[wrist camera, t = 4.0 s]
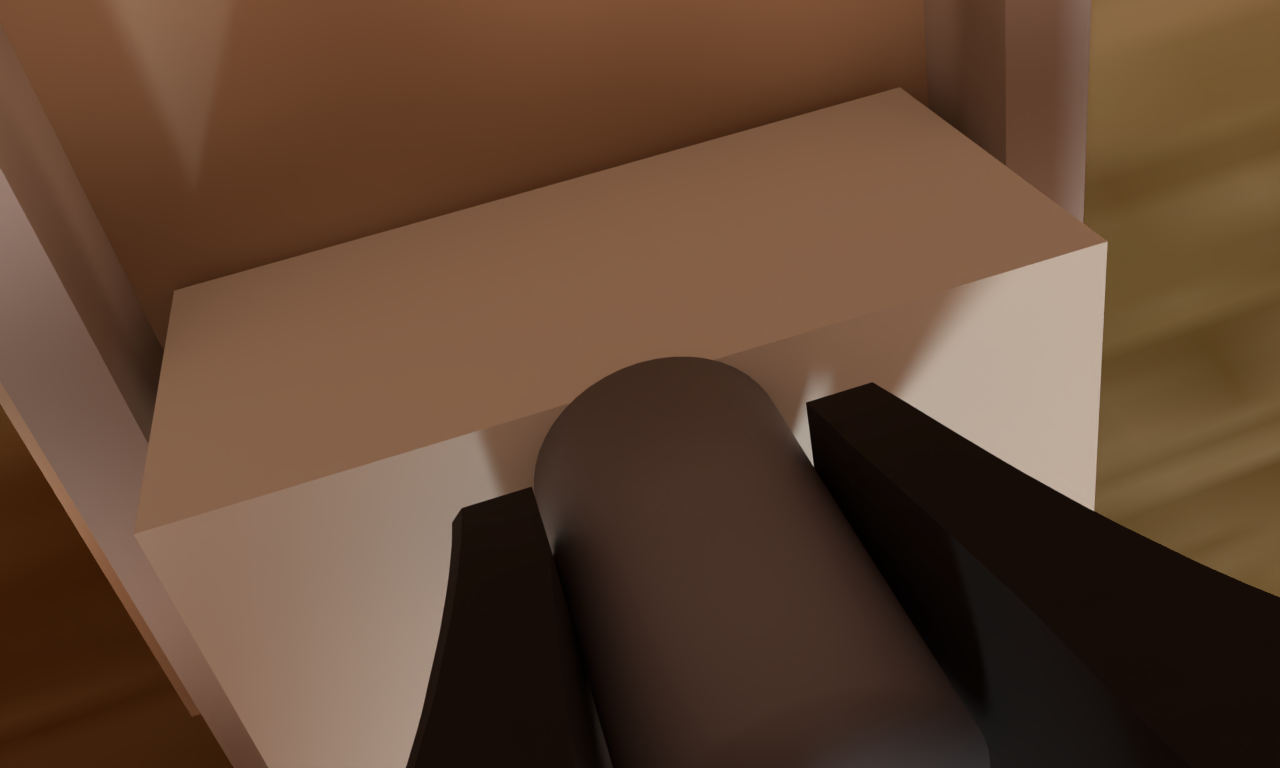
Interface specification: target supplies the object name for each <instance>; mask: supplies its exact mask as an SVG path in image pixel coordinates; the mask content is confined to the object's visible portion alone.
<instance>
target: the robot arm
mask: <svg viewBox="0 0 1280 768" xmlns="http://www.w3.org/2000/svg"><path fill="white" fill-rule="evenodd" d="M806 408H807V416H808V424H809V431H810V439H811V447H812V455H813V463H814V468H815V470H816V471H817V473H818V474H819V476H820V477H821V479H822V481H823V482H824V484H825V485H826V487H827V489H828V490H829V492H830V493H831V495H832V496H833V498H834V500H835V501H836V503H837V504H838V506H839V508H840V509H841V511H842V512H843V514H844V515H845V517H846V519H847V520H848V522H849V523H850V525H851V527H852V528H853V530H854V531H855V533H856V534H857V536H858V538H859V539H860V541H861V542H862V544H863V545H864V547H865V549H866V550H867V552H868V553H869V555H870V557H871V558H872V560H873V561H874V563H875V564H876V566H877V568H878V569H879V571H880V572H881V574H882V576H883V577H884V579H885V580H886V582H887V583H888V585H889V587H890V588H891V590H892V591H893V593H894V595H895V596H896V598H897V599H898V601H899V602H900V604H901V606H902V607H903V609H904V610H905V612H906V613H907V615H908V617H909V618H910V620H911V621H912V623H913V625H914V626H915V628H916V629H917V631H918V632H919V634H920V636H921V637H922V639H923V640H924V642H925V644H926V645H927V647H928V648H929V650H930V651H931V653H932V655H933V656H934V658H935V659H936V661H937V663H938V664H939V666H940V667H941V669H942V670H943V672H944V674H945V675H946V677H947V678H948V680H949V681H950V683H951V685H952V686H953V688H954V689H955V691H956V693H957V694H958V696H959V697H960V699H961V700H962V702H963V704H964V705H965V707H966V708H967V710H968V712H969V713H970V715H971V716H972V718H973V719H974V721H975V723H976V724H977V726H978V727H979V729H980V731H981V732H982V734H983V735H984V738H985V741H986V744H987V747H988V750H989V758H990V768H1280V597H1277V596H1275V595H1273V594H1270V593H1268V592H1265V591H1263V590H1260V589H1258V588H1255V587H1253V586H1250V585H1248V584H1245V583H1243V582H1241V581H1238V580H1236V579H1234V578H1232V577H1229V576H1227V575H1225V574H1223V573H1220V572H1218V571H1216V570H1214V569H1211V568H1209V567H1207V566H1205V565H1202V564H1200V563H1198V562H1196V561H1194V560H1192V559H1190V558H1187V557H1185V556H1183V555H1181V554H1179V553H1177V552H1175V551H1173V550H1171V549H1169V548H1167V547H1165V546H1163V545H1161V544H1159V543H1157V542H1154V541H1152V540H1150V539H1148V538H1146V537H1144V536H1142V535H1140V534H1138V533H1136V532H1134V531H1132V530H1130V529H1128V528H1126V527H1124V526H1121V525H1120V524H1118V523H1116V522H1114V521H1112V520H1110V519H1108V518H1106V517H1104V516H1102V515H1100V514H1098V513H1096V512H1095V511H1093V510H1091V509H1089V508H1087V507H1085V506H1083V505H1081V504H1080V503H1078V502H1076V501H1074V500H1072V499H1071V498H1069V497H1067V496H1065V495H1063V494H1061V493H1060V492H1058V491H1056V490H1054V489H1052V488H1051V487H1049V486H1047V485H1045V484H1043V483H1042V482H1040V481H1038V480H1036V479H1034V478H1033V477H1031V476H1029V475H1027V474H1025V473H1024V472H1022V471H1020V470H1018V469H1017V468H1015V467H1013V466H1012V465H1010V464H1008V463H1006V462H1005V461H1003V460H1001V459H1000V458H998V457H996V456H994V455H993V454H991V453H989V452H988V451H986V450H984V449H983V448H981V447H979V446H978V445H976V444H974V443H973V442H971V441H969V440H968V439H966V438H964V437H963V436H961V435H959V434H958V433H956V432H954V431H953V430H951V429H949V428H948V427H946V426H944V425H943V424H941V423H940V422H938V421H936V420H935V419H933V418H931V417H930V416H928V415H926V414H925V413H923V412H922V411H920V410H918V409H917V408H915V407H913V406H912V405H910V404H908V403H907V402H905V401H903V400H902V399H900V398H898V397H897V396H895V395H893V394H892V393H890V392H888V391H887V390H885V389H883V388H882V387H880V386H878V385H877V384H875V383H873V382H871V383H868V384H864V385H861V386H858V387H855V388H851V389H848V390H845V391H842V392H838V393H835V394H832V395H829V396H825V397H822V398H819V399H816V400H812V401H809V402H806ZM406 768H613V766H612V763H611V759H610V756H609V752H608V749H607V745H606V742H605V739H604V735H603V732H602V728H601V725H600V721H599V718H598V714H597V711H596V707H595V704H594V700H593V697H592V694H591V690H590V687H589V683H588V680H587V676H586V673H585V669H584V666H583V661H582V657H581V653H580V649H579V645H578V640H577V636H576V633H575V629H574V626H573V623H572V619H571V616H570V612H569V609H568V605H567V602H566V598H565V595H564V592H563V588H562V585H561V581H560V578H559V574H558V571H557V567H556V564H555V561H554V557H553V554H552V551H551V547H550V544H549V541H548V537H547V534H546V531H545V528H544V524H543V521H542V518H541V515H540V511H539V508H538V505H537V502H536V498H535V495H534V492H533V488H532V487H529V488H525V489H522V490H519V491H515V492H512V493H509V494H506V495H502V496H499V497H496V498H493V499H489V500H486V501H483V502H480V503H476V504H473V505H470V506H467V507H463V508H461V510H460V511H459V513H458V514H457V516H456V517H455V519H454V520H453V522H452V546H451V557H450V568H449V576H448V584H447V591H446V598H445V603H444V609H443V615H442V621H441V627H440V633H439V638H438V642H437V647H436V651H435V656H434V660H433V664H432V669H431V673H430V678H429V682H428V687H427V691H426V696H425V700H424V705H423V709H422V713H421V717H420V721H419V724H418V728H417V732H416V735H415V739H414V742H413V745H412V749H411V752H410V756H409V759H408V762H407V766H406Z"/></svg>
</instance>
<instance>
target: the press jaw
mask: <svg viewBox="0 0 1280 768" xmlns="http://www.w3.org/2000/svg"><path fill="white" fill-rule="evenodd" d="M1106 260H1107V241H1106V240H1105V239H1103V238H1102V237H1101V236H1099V235H1098V234H1097V233H1095V232H1094V231H1093V230H1091V229H1090V228H1089V227H1087V226H1086V225H1084V224H1083V223H1082V222H1080V221H1079V220H1078V219H1076V218H1075V217H1074V216H1072V215H1071V214H1070V213H1068V212H1067V211H1066V210H1064V209H1063V208H1062V207H1060V206H1059V205H1058V204H1056V203H1055V202H1054V201H1052V200H1051V199H1050V198H1048V197H1047V196H1045V195H1044V194H1043V193H1041V192H1040V191H1039V190H1037V189H1036V188H1035V187H1033V186H1032V185H1031V184H1029V183H1028V182H1027V181H1025V180H1024V179H1023V178H1021V177H1020V176H1019V175H1017V174H1016V173H1015V172H1013V171H1012V170H1011V169H1009V168H1008V167H1007V166H1005V165H1004V164H1002V163H1001V162H1000V161H998V160H997V159H996V158H994V157H993V156H992V155H990V154H989V153H988V152H986V151H985V150H984V149H982V148H981V147H980V146H978V145H977V144H976V143H974V142H973V141H972V140H970V139H969V138H968V137H966V136H965V135H963V134H962V133H961V132H959V131H958V130H957V129H955V128H954V127H953V126H951V125H950V124H949V123H947V122H946V121H945V120H943V119H942V118H941V117H939V116H938V115H937V114H935V113H934V112H933V111H931V110H930V109H929V108H927V107H926V106H925V105H923V104H922V103H920V102H919V101H918V100H916V99H915V98H914V97H912V96H911V95H910V94H908V93H907V92H906V91H904V90H903V89H902V88H900V87H899V88H895V89H892V90H888V91H884V92H881V93H877V94H874V95H870V96H867V97H863V98H859V99H856V100H852V101H849V102H845V103H842V104H838V105H834V106H831V107H827V108H824V109H820V110H817V111H813V112H809V113H806V114H802V115H799V116H795V117H792V118H788V119H784V120H781V121H777V122H774V123H770V124H767V125H763V126H760V127H756V128H752V129H749V130H745V131H742V132H738V133H735V134H731V135H727V136H724V137H720V138H717V139H713V140H710V141H706V142H702V143H699V144H695V145H692V146H688V147H685V148H681V149H677V150H674V151H670V152H667V153H663V154H660V155H656V156H652V157H649V158H645V159H642V160H638V161H635V162H631V163H628V164H624V165H620V166H617V167H613V168H610V169H606V170H603V171H599V172H595V173H592V174H588V175H585V176H581V177H578V178H574V179H570V180H567V181H563V182H560V183H556V184H553V185H549V186H545V187H542V188H538V189H535V190H531V191H528V192H524V193H520V194H517V195H513V196H510V197H506V198H503V199H499V200H496V201H492V202H488V203H485V204H481V205H478V206H474V207H471V208H467V209H463V210H460V211H456V212H453V213H449V214H446V215H442V216H438V217H435V218H431V219H428V220H424V221H421V222H417V223H413V224H410V225H406V226H403V227H399V228H396V229H392V230H388V231H385V232H381V233H378V234H374V235H371V236H367V237H364V238H360V239H356V240H353V241H349V242H346V243H342V244H339V245H335V246H331V247H328V248H324V249H321V250H317V251H314V252H310V253H306V254H303V255H299V256H296V257H292V258H289V259H285V260H281V261H278V262H274V263H271V264H267V265H264V266H260V267H256V268H253V269H249V270H246V271H242V272H239V273H235V274H232V275H228V276H224V277H221V278H217V279H214V280H210V281H207V282H203V283H199V284H196V285H192V286H189V287H185V288H182V289H178V290H174V295H173V301H172V307H171V313H170V319H169V325H168V331H167V337H166V343H165V349H164V355H163V361H162V367H161V373H160V379H159V385H158V391H157V397H156V403H155V409H154V415H153V421H152V427H151V433H150V439H149V445H148V451H147V457H146V463H145V469H144V475H143V481H142V487H141V493H140V499H139V505H138V511H137V517H136V523H135V529H134V536H135V538H136V539H137V541H138V543H139V544H140V546H141V548H142V550H143V551H144V553H145V555H146V557H147V558H148V560H149V562H150V564H151V565H152V567H153V569H154V570H155V572H156V574H157V576H158V577H159V579H160V581H161V583H162V584H163V586H164V588H165V590H166V591H167V593H168V595H169V596H170V598H171V600H172V602H173V603H174V605H175V607H176V609H177V610H178V612H179V614H180V616H181V617H182V619H183V621H184V622H185V624H186V626H187V628H188V629H189V631H190V633H191V635H192V636H193V638H194V640H195V642H196V643H197V645H198V647H199V648H200V650H201V652H202V654H203V655H204V657H205V659H206V661H207V662H208V664H209V666H210V668H211V669H212V671H213V673H214V674H215V676H216V678H217V680H218V681H219V683H220V685H221V687H222V688H223V690H224V692H225V694H226V695H227V697H228V699H229V700H230V702H231V704H232V706H233V707H234V709H235V711H236V713H237V714H238V716H239V718H240V720H241V721H242V723H243V725H244V726H245V728H246V730H247V732H248V733H249V735H250V737H251V739H252V740H253V742H254V744H255V746H256V747H257V749H258V751H259V752H260V754H261V756H262V758H263V759H264V761H265V763H266V765H267V766H268V768H406V766H407V762H408V759H409V756H410V752H411V749H412V745H413V742H414V739H415V735H416V732H417V728H418V724H419V721H420V717H421V713H422V709H423V705H424V700H425V696H426V691H427V687H428V682H429V678H430V673H431V669H432V664H433V660H434V656H435V651H436V647H437V642H438V638H439V633H440V627H441V621H442V615H443V609H444V603H445V598H446V591H447V584H448V576H449V568H450V557H451V546H452V522H453V520H454V519H455V517H456V516H457V514H458V513H459V511H460V510H461V508H463V507H467V506H470V505H473V504H476V503H480V502H483V501H486V500H489V499H493V498H496V497H499V496H502V495H506V494H509V493H512V492H515V491H519V490H522V489H525V488H529V487H532V488H533V492H534V495H535V498H536V502H537V505H538V508H539V511H540V515H541V518H542V521H543V524H544V528H545V531H546V534H547V537H548V541H549V544H550V547H551V551H552V554H553V557H554V561H555V564H556V567H557V571H558V574H559V578H560V581H561V585H562V588H563V592H564V595H565V598H566V602H567V605H568V609H569V612H570V616H571V619H572V623H573V626H574V629H575V633H576V636H577V640H578V645H579V649H580V653H581V657H582V661H583V666H584V669H585V673H586V676H587V680H588V683H589V687H590V690H591V694H592V697H593V700H594V704H595V707H596V711H597V714H598V718H599V721H600V725H601V728H602V732H603V735H604V739H605V742H606V745H607V749H608V752H609V756H610V759H611V763H612V766H613V768H990V758H989V750H988V747H987V744H986V741H985V738H984V735H983V734H982V732H981V731H980V729H979V727H978V726H977V724H976V723H975V721H974V719H973V718H972V716H971V715H970V713H969V712H968V710H967V708H966V707H965V705H964V704H963V702H962V700H961V699H960V697H959V696H958V694H957V693H956V691H955V689H954V688H953V686H952V685H951V683H950V681H949V680H948V678H947V677H946V675H945V674H944V672H943V670H942V669H941V667H940V666H939V664H938V663H937V661H936V659H935V658H934V656H933V655H932V653H931V651H930V650H929V648H928V647H927V645H926V644H925V642H924V640H923V639H922V637H921V636H920V634H919V632H918V631H917V629H916V628H915V626H914V625H913V623H912V621H911V620H910V618H909V617H908V615H907V613H906V612H905V610H904V609H903V607H902V606H901V604H900V602H899V601H898V599H897V598H896V596H895V595H894V593H893V591H892V590H891V588H890V587H889V585H888V583H887V582H886V580H885V579H884V577H883V576H882V574H881V572H880V571H879V569H878V568H877V566H876V564H875V563H874V561H873V560H872V558H871V557H870V555H869V553H868V552H867V550H866V549H865V547H864V545H863V544H862V542H861V541H860V539H859V538H858V536H857V534H856V533H855V531H854V530H853V528H852V527H851V525H850V523H849V522H848V520H847V519H846V517H845V515H844V514H843V512H842V511H841V509H840V508H839V506H838V504H837V503H836V501H835V500H834V498H833V496H832V495H831V493H830V492H829V490H828V489H827V487H826V485H825V484H824V482H823V481H822V479H821V477H820V476H819V474H818V473H817V471H816V470H815V468H814V463H813V455H812V447H811V439H810V431H809V424H808V416H807V408H806V402H809V401H812V400H816V399H819V398H822V397H825V396H829V395H832V394H835V393H838V392H842V391H845V390H848V389H851V388H855V387H858V386H861V385H864V384H868V383H871V382H873V383H875V384H877V385H878V386H880V387H882V388H883V389H885V390H887V391H888V392H890V393H892V394H893V395H895V396H897V397H898V398H900V399H902V400H903V401H905V402H907V403H908V404H910V405H912V406H913V407H915V408H917V409H918V410H920V411H922V412H923V413H925V414H926V415H928V416H930V417H931V418H933V419H935V420H936V421H938V422H940V423H941V424H943V425H944V426H946V427H948V428H949V429H951V430H953V431H954V432H956V433H958V434H959V435H961V436H963V437H964V438H966V439H968V440H969V441H971V442H973V443H974V444H976V445H978V446H979V447H981V448H983V449H984V450H986V451H988V452H989V453H991V454H993V455H994V456H996V457H998V458H1000V459H1001V460H1003V461H1005V462H1006V463H1008V464H1010V465H1012V466H1013V467H1015V468H1017V469H1018V470H1020V471H1022V472H1024V473H1025V474H1027V475H1029V476H1031V477H1033V478H1034V479H1036V480H1038V481H1040V482H1042V483H1043V484H1045V485H1047V486H1049V487H1051V488H1052V489H1054V490H1056V491H1058V492H1060V493H1061V494H1063V495H1065V496H1067V497H1069V498H1071V499H1072V500H1074V501H1076V502H1078V503H1080V504H1081V505H1083V506H1085V507H1087V508H1089V509H1091V510H1093V511H1094V502H1095V482H1096V462H1097V442H1098V422H1099V401H1100V381H1101V361H1102V341H1103V320H1104V300H1105V280H1106Z"/></svg>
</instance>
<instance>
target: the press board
mask: <svg viewBox="0 0 1280 768" xmlns="http://www.w3.org/2000/svg"><path fill="white" fill-rule="evenodd" d="M1090 19H1091V0H0V404H1V406H2V408H3V409H4V411H5V413H6V414H7V416H8V417H9V419H10V421H11V422H12V424H13V426H14V427H15V429H16V431H17V432H18V434H19V435H20V437H21V439H22V440H23V442H24V444H25V445H26V447H27V448H28V450H29V452H30V453H31V455H32V457H33V458H34V460H35V462H36V463H37V465H38V466H39V468H40V470H41V471H42V473H43V475H44V476H45V478H46V480H47V481H48V483H49V484H50V486H51V488H52V489H53V491H54V493H55V494H56V496H57V498H58V499H59V501H60V502H61V504H62V506H63V507H64V509H65V511H66V512H67V514H68V515H69V517H70V519H71V520H72V522H73V524H74V525H75V527H76V529H77V530H78V532H79V533H80V535H81V537H82V538H83V540H84V542H85V543H86V545H87V547H88V548H89V550H90V551H91V553H92V555H93V556H94V558H95V560H96V561H97V563H98V565H99V566H100V568H101V569H102V571H103V573H104V574H105V576H106V578H107V579H108V581H109V582H110V584H111V586H112V587H113V589H114V591H115V592H116V594H117V596H118V597H119V599H120V600H121V602H122V604H123V605H124V607H125V609H126V610H127V612H128V614H129V615H130V617H131V618H132V620H133V622H134V623H135V625H136V627H137V628H138V630H139V632H140V633H141V635H142V636H143V638H144V640H145V641H146V643H147V645H148V646H149V648H150V649H151V651H152V653H153V654H154V656H155V658H156V659H157V661H158V663H159V664H160V666H161V667H162V669H163V671H164V672H165V674H166V676H167V677H168V679H169V681H170V682H171V684H172V685H173V687H174V689H175V690H176V692H177V694H178V695H179V697H180V699H181V700H182V702H183V703H184V705H185V707H186V708H187V710H188V712H189V713H190V715H191V716H192V717H193V716H196V715H199V714H201V715H202V716H203V718H204V720H205V721H206V723H207V725H208V726H209V728H210V730H211V731H212V733H213V735H214V736H215V738H216V740H217V741H218V743H219V745H220V746H221V748H222V750H223V751H224V753H225V755H226V756H227V758H228V759H229V761H230V763H231V764H232V766H233V768H268V766H267V765H266V763H265V761H264V759H263V758H262V756H261V754H260V752H259V751H258V749H257V747H256V746H255V744H254V742H253V740H252V739H251V737H250V735H249V733H248V732H247V730H246V728H245V726H244V725H243V723H242V721H241V720H240V718H239V716H238V714H237V713H236V711H235V709H234V707H233V706H232V704H231V702H230V700H229V699H228V697H227V695H226V694H225V692H224V690H223V688H222V687H221V685H220V683H219V681H218V680H217V678H216V676H215V674H214V673H213V671H212V669H211V668H210V666H209V664H208V662H207V661H206V659H205V657H204V655H203V654H202V652H201V650H200V648H199V647H198V645H197V643H196V642H195V640H194V638H193V636H192V635H191V633H190V631H189V629H188V628H187V626H186V624H185V622H184V621H183V619H182V617H181V616H180V614H179V612H178V610H177V609H176V607H175V605H174V603H173V602H172V600H171V598H170V596H169V595H168V593H167V591H166V590H165V588H164V586H163V584H162V583H161V581H160V579H159V577H158V576H157V574H156V572H155V570H154V569H153V567H152V565H151V564H150V562H149V560H148V558H147V557H146V555H145V553H144V551H143V550H142V548H141V546H140V544H139V543H138V541H137V539H136V538H135V536H134V529H135V523H136V517H137V511H138V505H139V499H140V493H141V487H142V481H143V475H144V469H145V463H146V457H147V451H148V445H149V439H150V433H151V427H152V421H153V415H154V409H155V403H156V397H157V391H158V385H159V379H160V373H161V367H162V361H163V355H164V349H165V343H166V337H167V331H168V325H169V319H170V313H171V307H172V301H173V295H174V290H178V289H182V288H185V287H189V286H192V285H196V284H199V283H203V282H207V281H210V280H214V279H217V278H221V277H224V276H228V275H232V274H235V273H239V272H242V271H246V270H249V269H253V268H256V267H260V266H264V265H267V264H271V263H274V262H278V261H281V260H285V259H289V258H292V257H296V256H299V255H303V254H306V253H310V252H314V251H317V250H321V249H324V248H328V247H331V246H335V245H339V244H342V243H346V242H349V241H353V240H356V239H360V238H364V237H367V236H371V235H374V234H378V233H381V232H385V231H388V230H392V229H396V228H399V227H403V226H406V225H410V224H413V223H417V222H421V221H424V220H428V219H431V218H435V217H438V216H442V215H446V214H449V213H453V212H456V211H460V210H463V209H467V208H471V207H474V206H478V205H481V204H485V203H488V202H492V201H496V200H499V199H503V198H506V197H510V196H513V195H517V194H520V193H524V192H528V191H531V190H535V189H538V188H542V187H545V186H549V185H553V184H556V183H560V182H563V181H567V180H570V179H574V178H578V177H581V176H585V175H588V174H592V173H595V172H599V171H603V170H606V169H610V168H613V167H617V166H620V165H624V164H628V163H631V162H635V161H638V160H642V159H645V158H649V157H652V156H656V155H660V154H663V153H667V152H670V151H674V150H677V149H681V148H685V147H688V146H692V145H695V144H699V143H702V142H706V141H710V140H713V139H717V138H720V137H724V136H727V135H731V134H735V133H738V132H742V131H745V130H749V129H752V128H756V127H760V126H763V125H767V124H770V123H774V122H777V121H781V120H784V119H788V118H792V117H795V116H799V115H802V114H806V113H809V112H813V111H817V110H820V109H824V108H827V107H831V106H834V105H838V104H842V103H845V102H849V101H852V100H856V99H859V98H863V97H867V96H870V95H874V94H877V93H881V92H884V91H888V90H892V89H895V88H899V87H900V88H902V89H903V90H904V91H906V92H907V93H908V94H910V95H911V96H912V97H914V98H915V99H916V100H918V101H919V102H920V103H922V104H923V105H925V106H926V107H927V108H929V109H930V110H931V111H933V112H934V113H935V114H937V115H938V116H939V117H941V118H942V119H943V120H945V121H946V122H947V123H949V124H950V125H951V126H953V127H954V128H955V129H957V130H958V131H959V132H961V133H962V134H963V135H965V136H966V137H968V138H969V139H970V140H972V141H973V142H974V143H976V144H977V145H978V146H980V147H981V148H982V149H984V150H985V151H986V152H988V153H989V154H990V155H992V156H993V157H994V158H996V159H997V160H998V161H1000V162H1001V163H1002V164H1004V165H1005V166H1007V167H1008V168H1009V169H1011V170H1012V171H1013V172H1015V173H1016V174H1017V175H1019V176H1020V177H1021V178H1023V179H1024V180H1025V181H1027V182H1028V183H1029V184H1031V185H1032V186H1033V187H1035V188H1036V189H1037V190H1039V191H1040V192H1041V193H1043V194H1044V195H1045V196H1047V197H1048V198H1050V199H1051V200H1052V201H1054V202H1055V203H1056V204H1058V205H1059V206H1060V207H1062V208H1063V209H1064V210H1066V211H1067V212H1068V213H1070V214H1071V215H1072V216H1074V217H1075V218H1076V219H1078V220H1079V221H1080V222H1082V223H1083V214H1084V187H1085V159H1086V131H1087V103H1088V75H1089V47H1090Z"/></svg>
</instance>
